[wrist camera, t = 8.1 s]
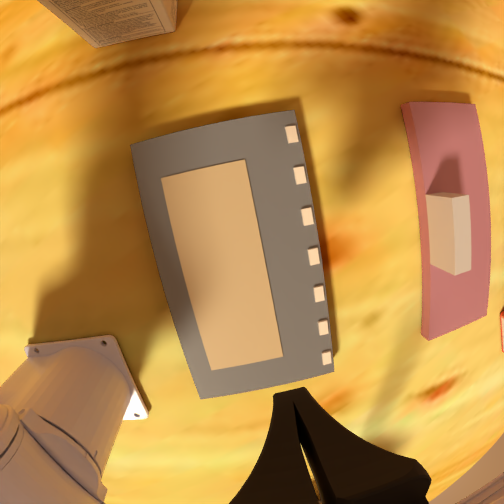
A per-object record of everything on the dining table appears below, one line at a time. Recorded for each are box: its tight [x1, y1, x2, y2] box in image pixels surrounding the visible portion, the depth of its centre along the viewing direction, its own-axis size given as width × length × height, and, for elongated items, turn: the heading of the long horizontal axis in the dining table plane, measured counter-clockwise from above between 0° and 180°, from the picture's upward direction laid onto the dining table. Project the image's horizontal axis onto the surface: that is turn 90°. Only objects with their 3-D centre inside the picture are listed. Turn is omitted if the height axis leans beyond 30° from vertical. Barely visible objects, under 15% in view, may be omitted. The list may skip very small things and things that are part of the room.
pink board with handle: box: [401, 102, 491, 341], centre depth 19 cm, size 7×18×4 cm, turn 11°
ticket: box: [130, 110, 334, 399], centre depth 20 cm, size 10×18×1 cm, turn 11°
